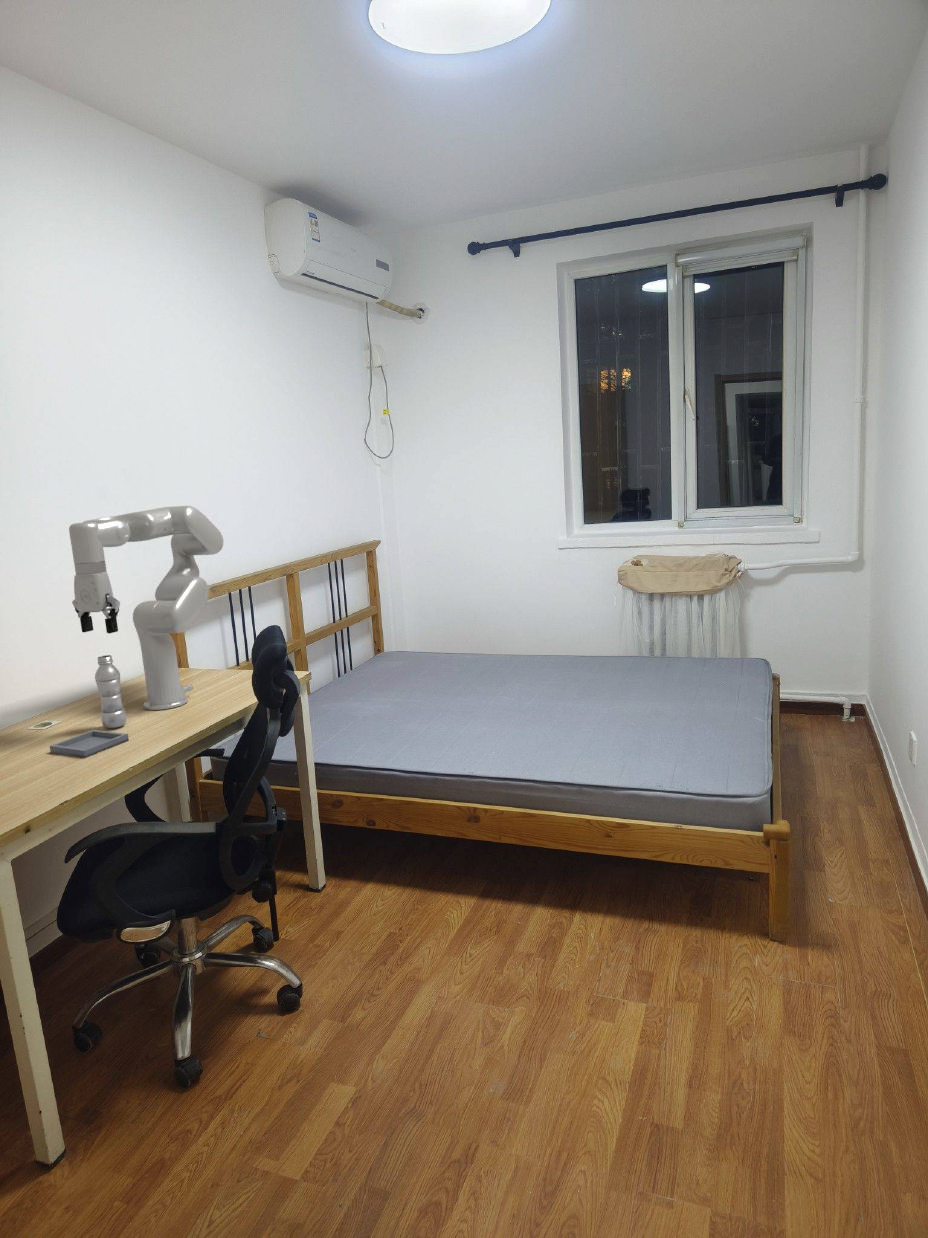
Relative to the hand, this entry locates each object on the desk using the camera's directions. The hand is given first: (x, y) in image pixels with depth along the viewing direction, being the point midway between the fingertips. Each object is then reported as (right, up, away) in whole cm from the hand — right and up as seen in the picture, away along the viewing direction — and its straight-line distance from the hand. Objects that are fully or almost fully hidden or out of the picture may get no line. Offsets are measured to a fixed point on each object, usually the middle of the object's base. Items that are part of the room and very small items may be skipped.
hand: (100, 631), depth 212 cm
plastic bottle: (+2, -27, +5) cm, 27 cm away
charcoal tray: (+2, -29, -11) cm, 31 cm away
